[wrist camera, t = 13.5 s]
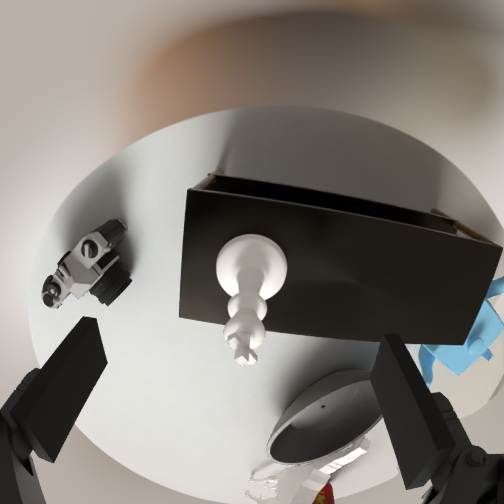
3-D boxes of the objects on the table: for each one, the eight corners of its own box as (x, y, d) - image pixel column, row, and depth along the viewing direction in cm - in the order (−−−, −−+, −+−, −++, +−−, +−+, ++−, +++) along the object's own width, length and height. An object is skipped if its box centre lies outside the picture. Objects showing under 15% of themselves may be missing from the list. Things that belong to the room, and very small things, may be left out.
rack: (206, 255, 37) (178, 317, 25) (216, 167, 33) (187, 189, 21) (414, 284, 37) (463, 345, 25) (437, 209, 34) (503, 248, 21)
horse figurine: (279, 446, 62) (377, 430, 46) (257, 510, 49) (361, 517, 34) (263, 437, 61) (362, 420, 45) (239, 504, 48) (343, 513, 33)
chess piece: (260, 220, 21) (256, 290, 12) (300, 276, 23) (319, 371, 13) (202, 258, 23) (162, 345, 13) (243, 309, 24) (230, 411, 15)
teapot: (461, 229, 34) (507, 259, 25) (503, 286, 37) (541, 320, 27) (369, 331, 40) (391, 382, 30) (424, 371, 42) (447, 416, 33)
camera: (100, 313, 41) (74, 349, 32) (61, 274, 39) (27, 303, 30) (158, 252, 38) (136, 281, 30) (113, 206, 36) (80, 225, 28)
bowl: (246, 420, 47) (244, 450, 41) (346, 333, 40) (356, 364, 34) (303, 444, 49) (305, 472, 43) (400, 369, 42) (413, 397, 36)
